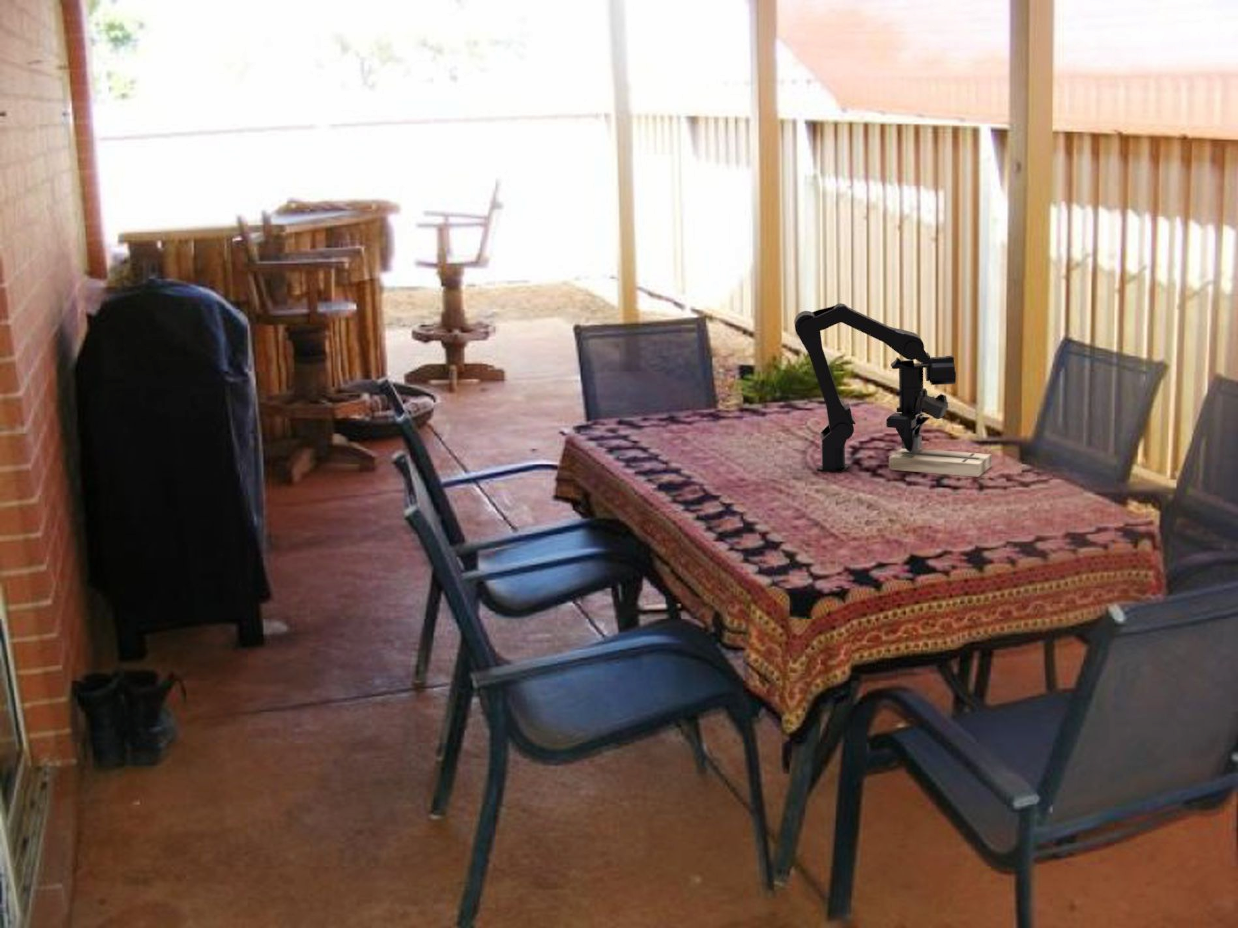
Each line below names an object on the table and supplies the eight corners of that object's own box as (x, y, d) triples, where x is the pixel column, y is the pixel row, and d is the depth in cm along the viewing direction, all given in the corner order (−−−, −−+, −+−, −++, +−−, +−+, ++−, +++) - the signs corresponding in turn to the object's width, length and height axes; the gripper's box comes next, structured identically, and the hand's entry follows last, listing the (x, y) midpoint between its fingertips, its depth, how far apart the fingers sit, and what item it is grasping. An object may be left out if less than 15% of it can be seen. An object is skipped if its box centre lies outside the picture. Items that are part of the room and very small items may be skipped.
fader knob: (917, 454, 363) (917, 437, 362) (901, 452, 365) (901, 436, 364) (921, 451, 366) (921, 434, 365) (906, 450, 368) (905, 433, 367)
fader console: (978, 476, 353) (978, 463, 353) (888, 469, 364) (888, 456, 363) (991, 466, 362) (991, 453, 361) (903, 459, 373) (902, 447, 372)
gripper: (931, 395, 350) (931, 461, 354) (956, 379, 365) (956, 442, 369) (885, 393, 355) (886, 457, 359) (911, 377, 371) (912, 439, 375)
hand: (911, 449), depth 365 cm, fingers closed on fader knob, 3 cm apart
